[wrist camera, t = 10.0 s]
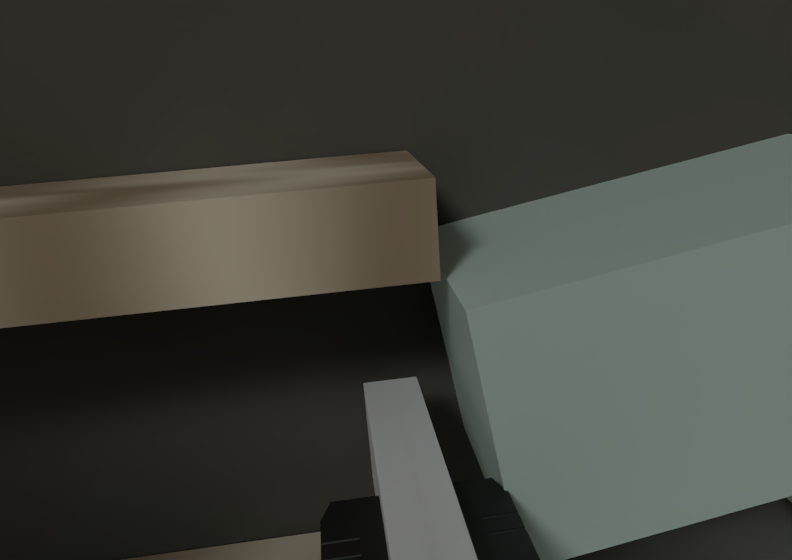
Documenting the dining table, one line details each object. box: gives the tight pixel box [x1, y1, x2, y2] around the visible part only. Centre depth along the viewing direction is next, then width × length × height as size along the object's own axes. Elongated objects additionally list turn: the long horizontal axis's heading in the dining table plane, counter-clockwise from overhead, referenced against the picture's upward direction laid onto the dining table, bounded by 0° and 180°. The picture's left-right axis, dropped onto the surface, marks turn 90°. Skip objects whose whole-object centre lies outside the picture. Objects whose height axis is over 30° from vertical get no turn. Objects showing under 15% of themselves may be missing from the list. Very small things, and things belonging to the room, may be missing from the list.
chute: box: [0, 150, 441, 560], centre depth 15 cm, size 14×13×4 cm
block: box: [430, 134, 792, 560], centre depth 14 cm, size 10×6×6 cm, turn 104°
